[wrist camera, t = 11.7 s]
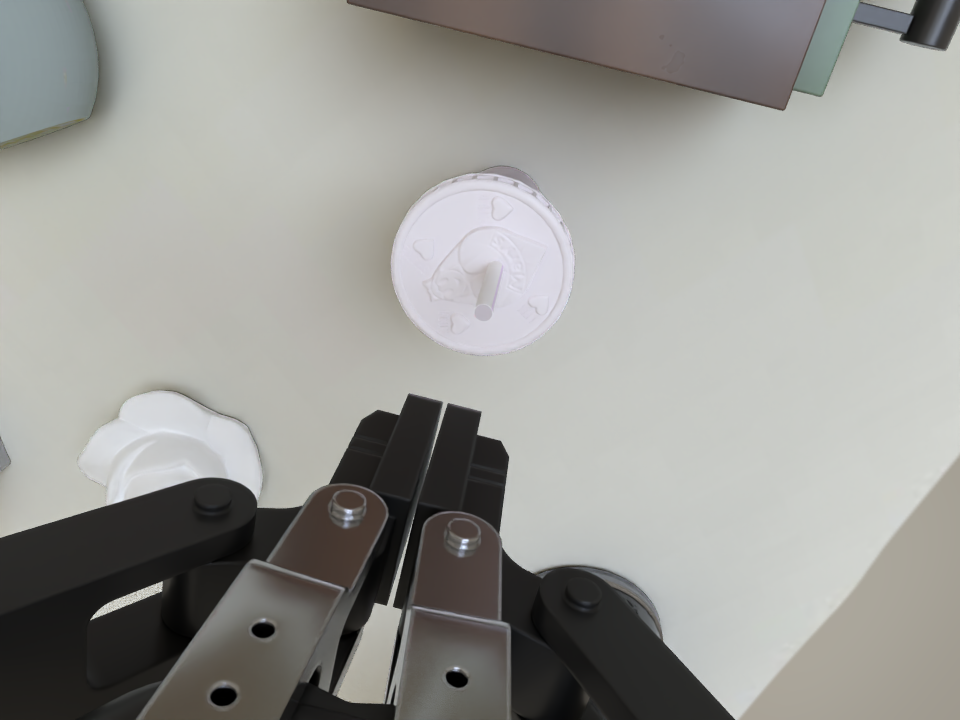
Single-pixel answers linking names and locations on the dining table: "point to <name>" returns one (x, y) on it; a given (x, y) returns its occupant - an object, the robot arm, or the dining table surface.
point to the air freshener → (45, 68)
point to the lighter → (3, 457)
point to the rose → (168, 447)
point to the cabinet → (648, 37)
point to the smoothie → (483, 262)
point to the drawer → (926, 26)
